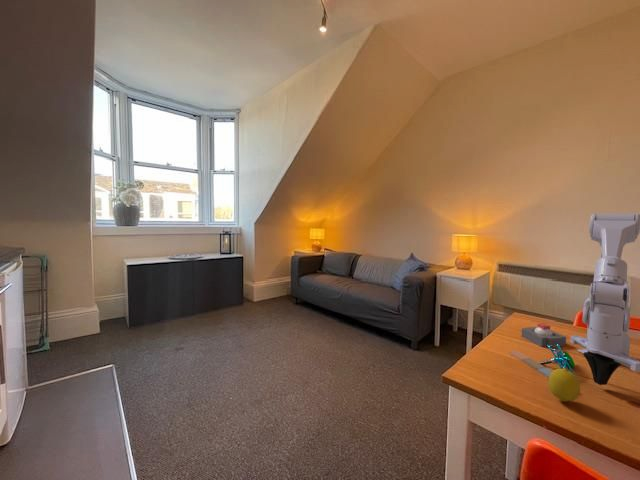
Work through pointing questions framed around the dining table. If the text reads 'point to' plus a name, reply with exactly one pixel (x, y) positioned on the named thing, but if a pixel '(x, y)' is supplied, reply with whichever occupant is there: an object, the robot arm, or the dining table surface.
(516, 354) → the track tiles
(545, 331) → the dome button
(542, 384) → the dining table surface
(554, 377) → the lemon
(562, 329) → the dining table surface
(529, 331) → the dome housing
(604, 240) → the robot arm
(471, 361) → the dining table surface
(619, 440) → the dining table surface
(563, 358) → the stick construction toy
